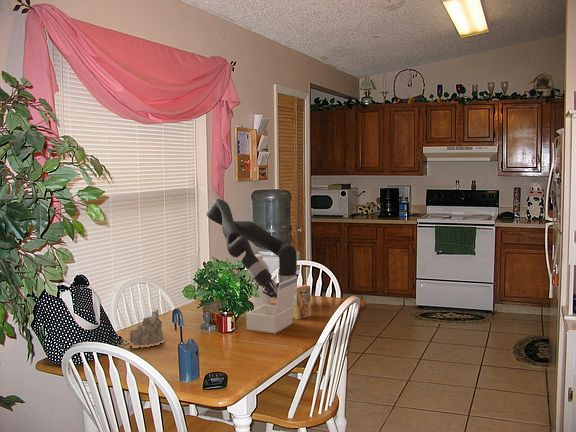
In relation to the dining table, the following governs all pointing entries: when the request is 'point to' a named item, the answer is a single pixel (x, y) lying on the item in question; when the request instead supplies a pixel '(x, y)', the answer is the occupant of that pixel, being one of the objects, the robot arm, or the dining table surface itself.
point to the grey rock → (148, 331)
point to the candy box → (301, 302)
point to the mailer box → (268, 319)
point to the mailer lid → (285, 295)
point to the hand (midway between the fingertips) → (282, 302)
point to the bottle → (260, 290)
